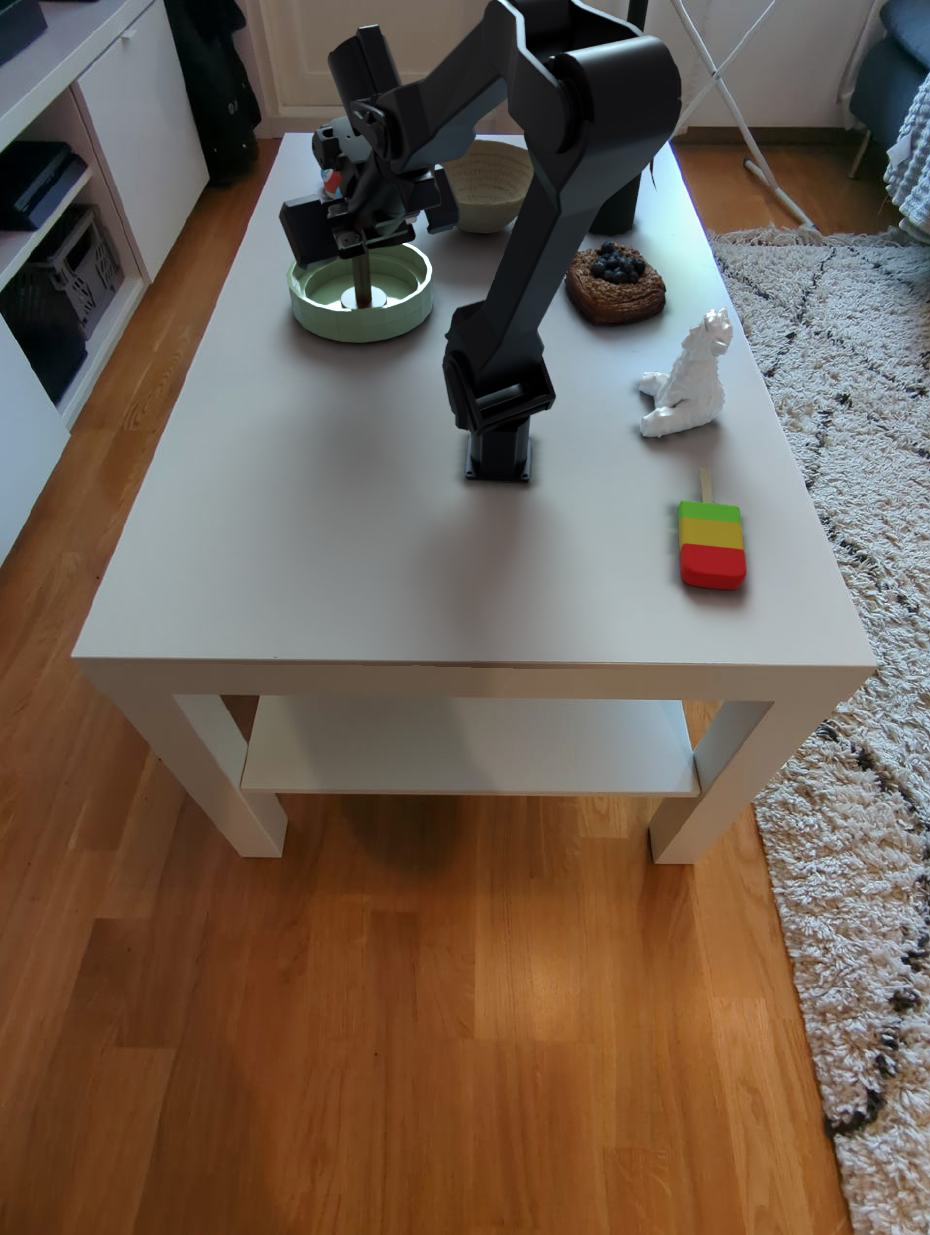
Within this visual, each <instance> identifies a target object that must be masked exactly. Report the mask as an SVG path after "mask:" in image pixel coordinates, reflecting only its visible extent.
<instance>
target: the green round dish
mask: <svg viewBox="0 0 930 1235" xmlns="http://www.w3.org/2000/svg"><path fill="white" fill-rule="evenodd" d="M369 262H370V276H371V286H373V287H377V288H379V289H381V290H382V291H383V292H384V293H385V294H386V296H387V305H385V306H380V307H373V308H365V309H343V308H341V295H342V294H343V293H344V292H345V291H346V290H347V289H349V288H352V287H354V277H353V266H352V258H351V259H348V260H341V259H340V258H339V257H337V259H336V260H335V261H333V262H331V263H329V264H327V265H324V266H320V267H317V268H313V269H310V270H306V271H305V270H303V269H302V268H300V267H298V265H297V262H296V260H295V259H294V260H292V261H291V262H290V265H289V267H288V270H287V272H286V275H285V276H286V280H287V285H288V291H289V296H290V301H291V307H292V311H293V316H294V319H296V320H297V322H298V323H299V324H300V325H301V326H302V327H303V328H304V329H305V330H307V331H309V332H311V333H312V334H315V335H317V336H318V337H320V338H325V339H328V340H333V341H337V342H341V343H361V344H362V343H363V344H364V343H370V342H377V341H384V340H389V339H392V338H395V337H398V336H401V335H403V334H406V333H409V332H410V331H412V330H413V329H415V328H416V327H417V326H420V325H421V324H422V323H424V321H425V320H426V318H428V316H429V315H430V313H431V312H432V309H433V305H434V304H433V303H434V299H435V298H434V273H433V269H434V268H433V266H432V264H431V262H430V259H429V257H428V256H427V255H426V254H425V253H424V252H423V251H421V250H420V249H419V248H418V247H417V246H414V245H413V244H410V243H409V242H408V243H405V244H401V245H397V246H394V247H385V248H377V249H369Z"/></svg>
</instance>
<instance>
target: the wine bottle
mask: <svg viewBox="0 0 930 1235" xmlns="http://www.w3.org/2000/svg"><path fill="white" fill-rule="evenodd" d="M648 5H649V0H628V7H627V15H626V20H625V21H626V22H629V23H631V24H633V25H634V26H636V27H637V28H638V29H639V30H641V31H642V32H643V33H644V34H645V32H644V31H645V25H646V18H647V13H648V8H649V7H648ZM654 161H655V157H654V158H653V159H652V160H651V162H650V163H649V171H650V175H651V180H652V184H653V187H654V190H655V191H656V192H657V186H656V183H655V179H654V175H653V174H654V163H655V162H654ZM642 173H643V171H642V172H641V173H639V174H638V175H637V176H636V177H634V178H633V179H632V180H631V181H629V182H628V183H627V184H626V185H624V186H623V187H622V188H621V189H619V190H618V191H617V192H616V193H614V194H613V195H612V196H611V197H609V198H608V199H607V200H606V201H605V202H604V203H603V204H602V205H601V207H600V209H599V211H598V213H597V215H596V217H595V219H594V220H593V222H592V224H591V226H590V228H589V230H588V232H587V233H590V234H592V235H594V236H602V237H616V236H621V235H625V234H626V233H628V232H630V231H631V230H633V226H634V222H635V216H636V209H637V203H638V197H639V193H640V187H641V180H642V175H643V174H642Z"/></svg>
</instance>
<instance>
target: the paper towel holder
mask: <svg viewBox="0 0 930 1235" xmlns="http://www.w3.org/2000/svg"><path fill="white" fill-rule="evenodd" d="M345 200H346V202H349V201H348V198H345ZM362 245H363V248H364V250H365V253H366V254H365V255H362V256H358V257H355V258H352V266H353V277H354V287H352V288H349V289H347V290H346V291H345V292H344V293H343V294H342V295H341V308H343V309H365V308H373V307H380V306H385V305H387V296H386V294H385V293H384V292H383V291H382V290H381V289H379V288H377V287H373V286H371V276H370V262H369V248H368V244H366V245H365V243H364V241H363V242H362Z"/></svg>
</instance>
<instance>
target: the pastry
mask: <svg viewBox="0 0 930 1235" xmlns="http://www.w3.org/2000/svg"><path fill="white" fill-rule="evenodd" d="M563 281H564V289H565V292H566V295H567V296H568V298H569V300H570V302H571V303H572V305H573V307H574V308H575V309H576V311H577V312H578V313H579V314H580V316H581V317H582V318H583V319H584V320H585V321H587V322H588V323H590V324H591V325H592V326H596V325H597V326H600V327H609V328H610V327H611V328H615V327H616V328H617V327H625V326H631V325H637V324H639V323H642V322H645V321H648V320H649V319H652V318H654V317H656V316H658V315H659V314H661V313H663V311H664V310H665V306H666V304H667V298H666V293H667V287H666V283H665V282H664V280H663V278H662V275H661V274H659V273H658V271H657V269H654V267H653V266H652V265H651V264H650V263H649V262H647V260H646V259H645V257H644V256H643V254H641V252H640V251H639V250H638V249H635V248H634V246H632V245H631V244H628V245H627V246H626V245H623V244H618V243H617V242H615V241H611V240H606V241H604V242H603V243H602V244H601V245H600V247H596V248H595V249H593V248H591V247H590V248H588V249H586V250H580V251H579V250H578V251H577V253H576V255H575V257H574V259H573V261H572V263H571V265H570V267H569V269H568V271H567V273H566V275H565V277H564V279H563Z"/></svg>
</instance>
